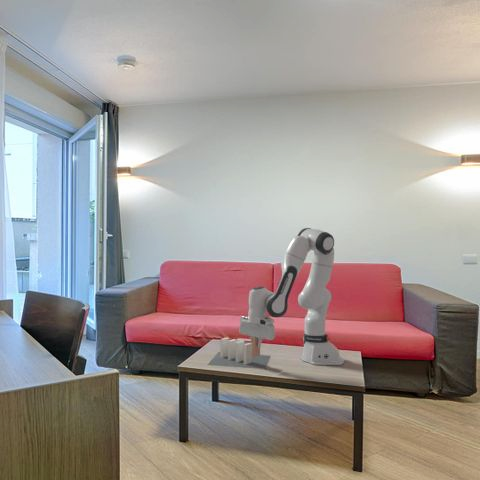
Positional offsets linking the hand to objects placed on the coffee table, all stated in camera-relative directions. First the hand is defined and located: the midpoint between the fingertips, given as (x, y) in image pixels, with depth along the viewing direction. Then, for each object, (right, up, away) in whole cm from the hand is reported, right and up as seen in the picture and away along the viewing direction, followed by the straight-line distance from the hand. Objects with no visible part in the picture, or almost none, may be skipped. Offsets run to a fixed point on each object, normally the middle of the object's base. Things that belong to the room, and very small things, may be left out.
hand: (256, 345), depth 194 cm
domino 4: (-4, -10, +4) cm, 12 cm away
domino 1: (-17, -10, +14) cm, 24 cm away
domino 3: (-8, -10, +7) cm, 15 cm away
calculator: (-6, -12, +35) cm, 38 cm away
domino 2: (-12, -10, +11) cm, 19 cm away
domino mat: (-8, -11, +9) cm, 16 cm away
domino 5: (0, -5, 0) cm, 5 cm away
